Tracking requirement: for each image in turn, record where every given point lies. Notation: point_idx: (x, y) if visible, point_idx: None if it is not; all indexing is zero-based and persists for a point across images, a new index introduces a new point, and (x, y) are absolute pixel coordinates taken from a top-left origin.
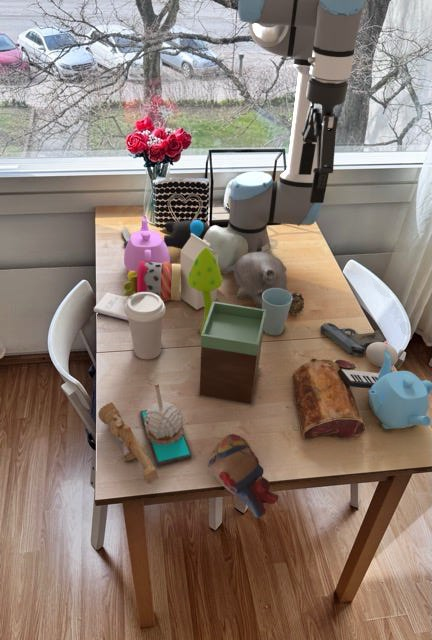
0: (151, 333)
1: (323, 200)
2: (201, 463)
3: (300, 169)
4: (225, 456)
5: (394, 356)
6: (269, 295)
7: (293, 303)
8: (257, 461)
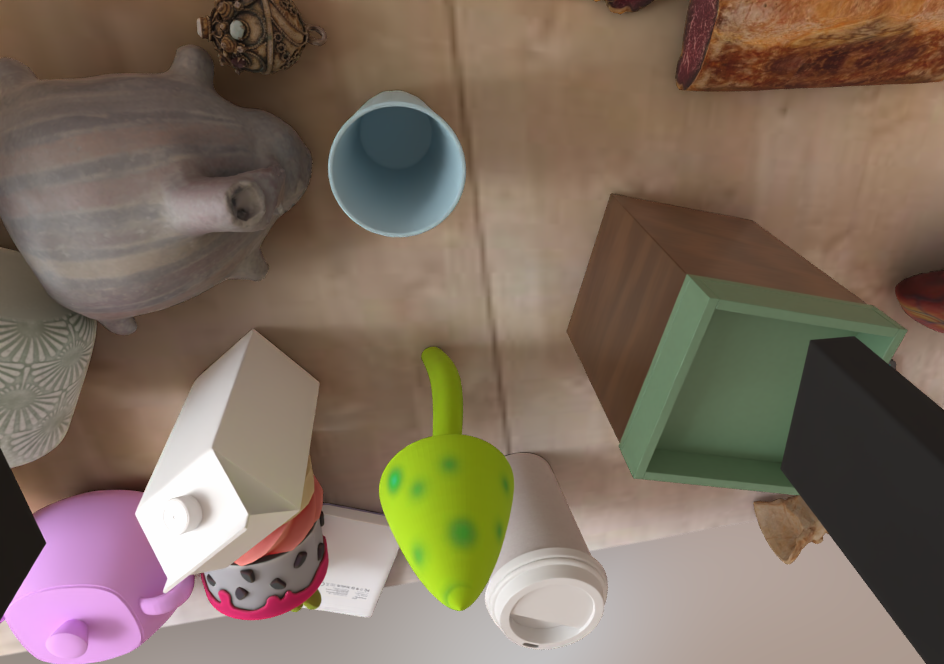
0: (580, 532)
1: (874, 354)
2: (907, 333)
3: (9, 591)
4: None
5: None
6: (347, 191)
7: (286, 49)
8: None
